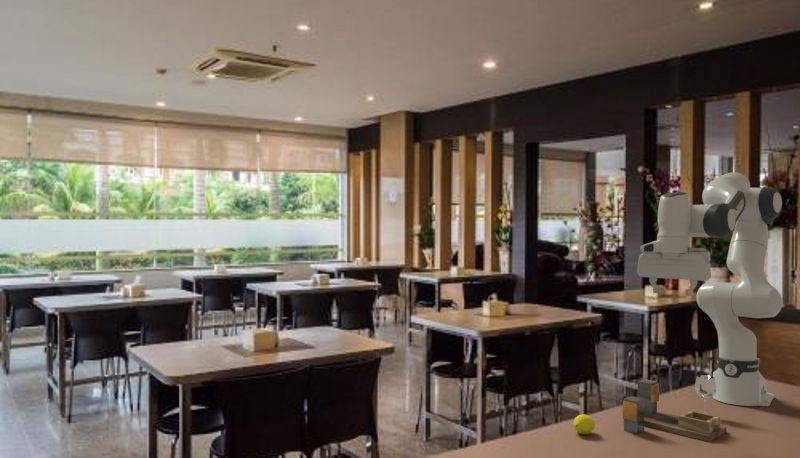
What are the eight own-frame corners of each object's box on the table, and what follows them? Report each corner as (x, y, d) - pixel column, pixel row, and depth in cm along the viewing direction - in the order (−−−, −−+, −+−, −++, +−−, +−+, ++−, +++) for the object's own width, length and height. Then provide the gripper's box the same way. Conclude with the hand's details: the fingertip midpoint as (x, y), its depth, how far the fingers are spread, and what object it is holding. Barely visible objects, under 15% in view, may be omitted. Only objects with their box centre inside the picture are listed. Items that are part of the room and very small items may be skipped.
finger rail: (643, 413, 192) (643, 376, 192) (726, 432, 174) (726, 391, 174) (624, 421, 183) (624, 382, 183) (709, 441, 166) (709, 398, 166)
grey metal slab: (630, 427, 178) (630, 396, 178) (644, 430, 175) (644, 398, 175) (622, 430, 175) (622, 398, 175) (636, 434, 172) (636, 401, 172)
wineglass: (718, 419, 185) (718, 379, 185) (697, 418, 186) (697, 378, 186) (712, 414, 191) (713, 375, 191) (692, 413, 192) (692, 374, 192)
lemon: (582, 431, 176) (583, 411, 177) (598, 436, 172) (600, 416, 172) (567, 432, 172) (568, 412, 172) (583, 437, 168) (585, 417, 168)
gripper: (715, 248, 176) (714, 297, 175) (645, 246, 191) (644, 291, 190) (706, 247, 171) (705, 297, 171) (635, 246, 187) (634, 292, 186)
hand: (672, 294), depth 181 cm, fingers open, 8 cm apart
